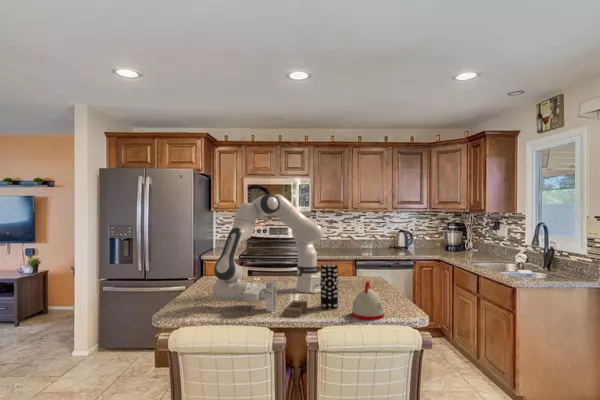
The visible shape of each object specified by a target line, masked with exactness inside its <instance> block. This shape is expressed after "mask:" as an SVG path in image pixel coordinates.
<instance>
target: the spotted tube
mask: <svg viewBox="0 0 600 400" xmlns="http://www.w3.org/2000/svg"><path fill="white" fill-rule="evenodd" d="M320 266H321V270H320V272H321V292H320V308H321V309H323V310H336V309H338V308H339V269H338V268H339V267H338V265H337V264H333V263H329V264H328V263H327V264H325V263H323V264H320Z"/></svg>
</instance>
